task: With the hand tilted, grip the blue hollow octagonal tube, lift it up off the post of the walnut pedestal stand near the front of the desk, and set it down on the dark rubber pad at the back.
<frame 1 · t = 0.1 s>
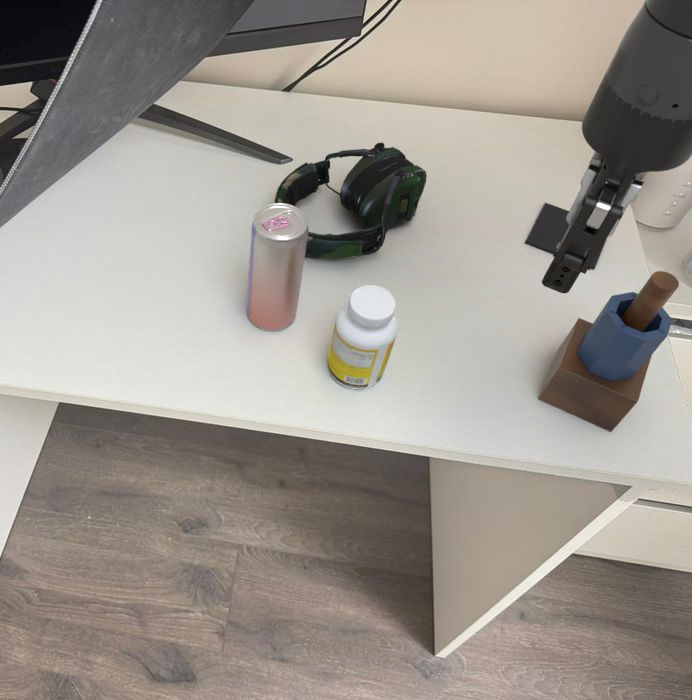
hand: (568, 255, 60), 23 cm above the table, tool pointing down, fingers open, 8 cm apart
beverage can: (271, 314, 85), on the table
pad: (568, 235, 94), on the table
stand: (583, 389, 79), on the table
headphones: (346, 226, 95), on the table
pill bottle: (354, 369, 81), on the table
blue hollow octagonal tube: (607, 357, 75), point 6 cm above the table, touching stand
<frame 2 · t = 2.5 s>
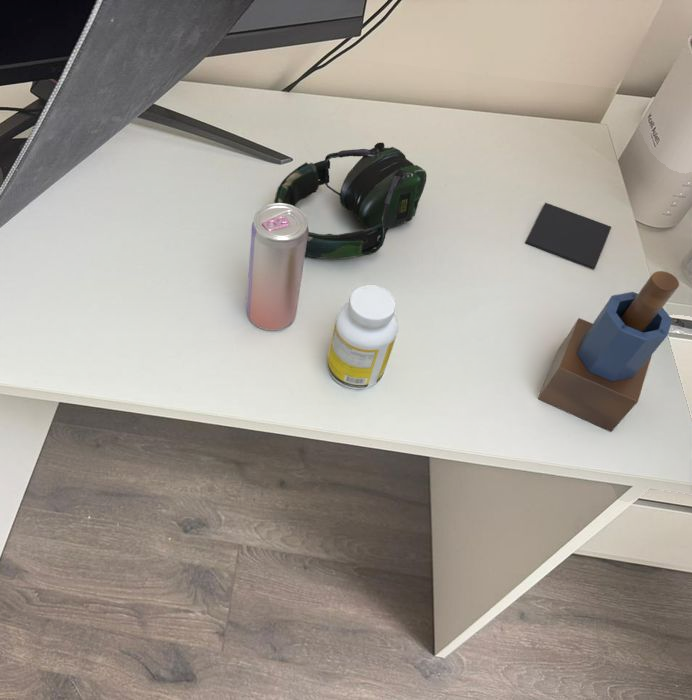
nothing on the table moved.
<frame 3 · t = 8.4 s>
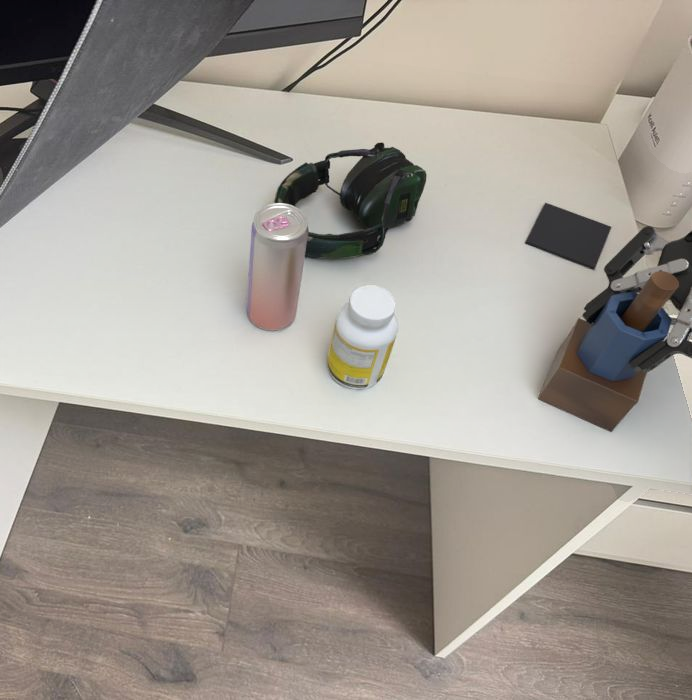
hand: (609, 343, 72), 9 cm above the table, tool tilted 45°, fingers closed on blue hollow octagonal tube, 6 cm apart
blue hollow octagonal tube: (606, 357, 75), point 6 cm above the table, touching gripper, stand
everything else where it was.
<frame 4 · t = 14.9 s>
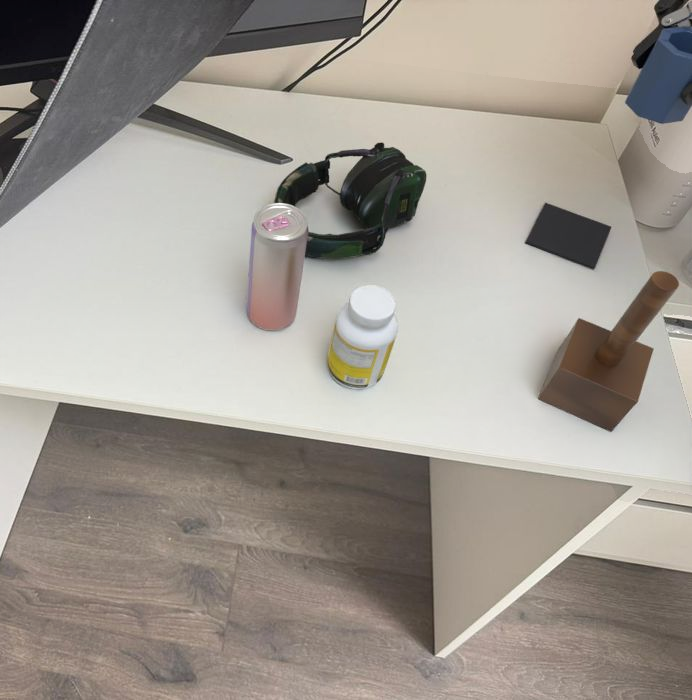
hand: (659, 81, 71), 26 cm above the table, tool tilted 45°, fingers closed on blue hollow octagonal tube, 6 cm apart
blue hollow octagonal tube: (655, 106, 74), point 23 cm above the table, touching gripper
everything else where it was.
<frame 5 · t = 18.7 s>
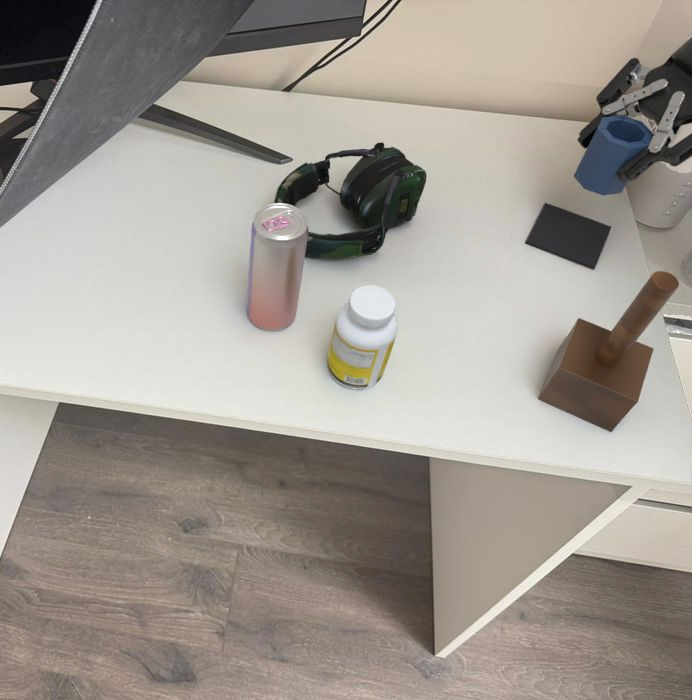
hand: (600, 160, 84), 13 cm above the table, tool tilted 45°, fingers closed on blue hollow octagonal tube, 6 cm apart
blue hollow octagonal tube: (599, 179, 87), point 9 cm above the table, touching gripper
everything else where it was.
when the fingers open (4 cm above the table, at t = 21.7 s): blue hollow octagonal tube stays where it is, resting on pad.
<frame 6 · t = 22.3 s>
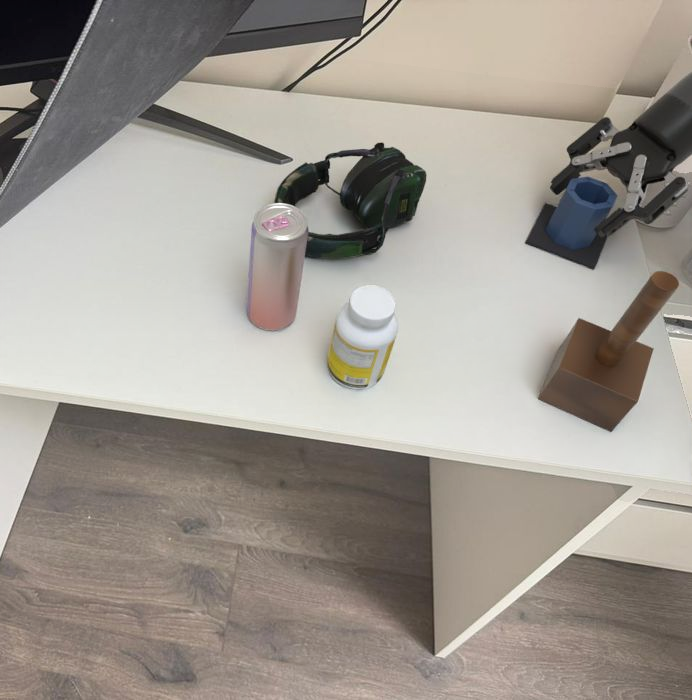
hand: (574, 212, 90), 5 cm above the table, tool tilted 45°, fingers open, 8 cm apart
blue hollow octagonal tube: (569, 233, 94), resting on pad
everything else where it was.
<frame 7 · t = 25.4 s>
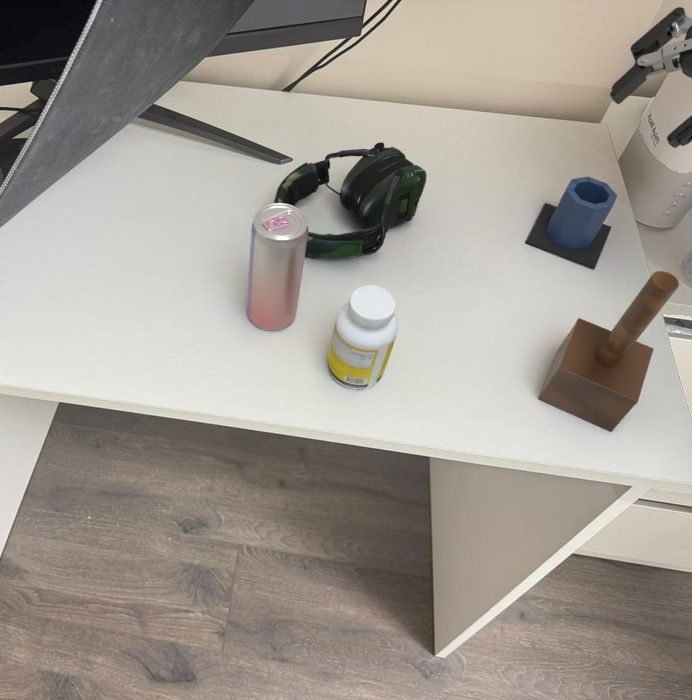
hand: (641, 120, 77), 20 cm above the table, tool tilted 45°, fingers open, 8 cm apart
nothing on the table moved.
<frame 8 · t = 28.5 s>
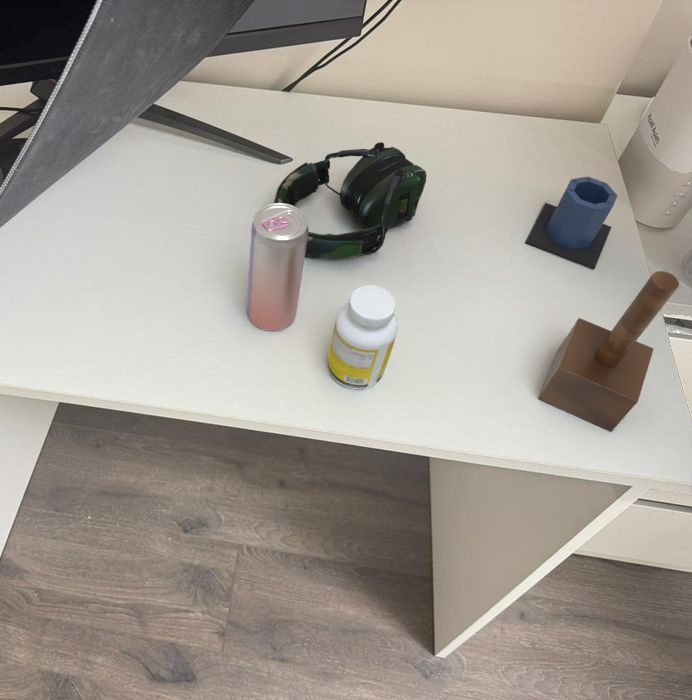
nothing on the table moved.
at the end: blue hollow octagonal tube inside the target area on the pad (0.1 cm from its centre), point 0.4 cm above the pad's base; blue hollow octagonal tube tilted 0°; blue hollow octagonal tube touching pad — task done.
